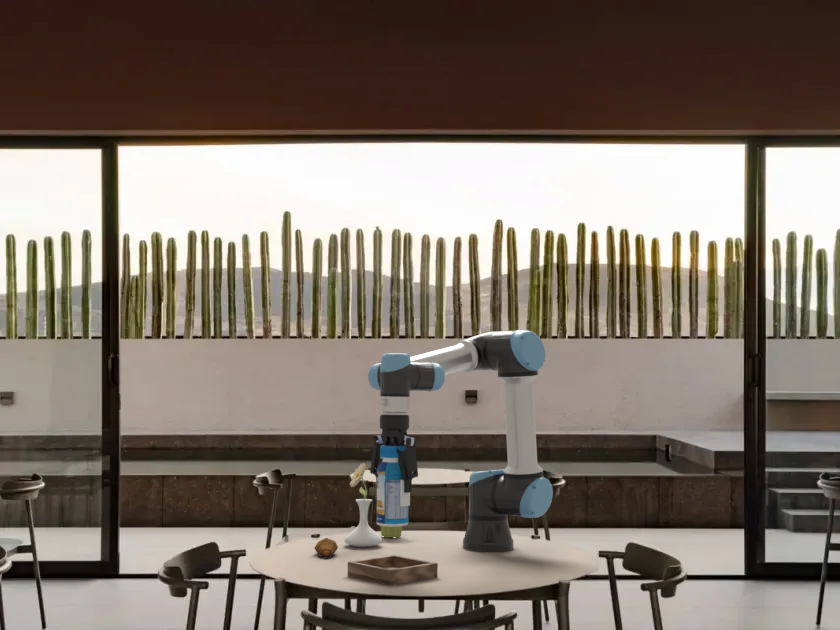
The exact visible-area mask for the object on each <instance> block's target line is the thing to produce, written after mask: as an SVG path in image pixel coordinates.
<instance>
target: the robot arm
mask: <svg viewBox="0 0 840 630" xmlns="http://www.w3.org/2000/svg"><path fill="white" fill-rule="evenodd" d="M545 361H546V349H545V345H544V343H543V341H542V339H541V337H539V336H538V334H537V333H535V332H533V331H531V330H524V329H523V330H522V329H516V330H501V331H497V330H496V331H489V332H488V331H487V332H485V333H479V334H477V335H474V336H471V337H467V338H465V339H461V340H458V341H457V342H456V343H455V344H454V345H451V346H448V347H444V348H440V349H436V350H433V351H427V352H425V353H422V354H417V355H413V356H410V354H409V353H402V352H400V353H398V352H396V353H394V352H391V353H390V352H387V353H384V354H383V355H381V358H380V363H374V364H373V365H371V367H370V368H369V370H368V374H367V377H368V383H369V386H370V387H371V388H372V389H374V390H376V391H380V394H379V395H380V398H379V400H380V401H379V404H380V405H379V407H380V408H379V412H380V413H382V414H380V416H379V428H380V429H381V434H380V435H373V437H372V441H373V444H372V445H373V447H372V455H371V463H370V470H369V473H370V474H373V475H374V476H375V478H376V479H375V483H376V482H377V479H378V474H377V470H378V467H379V465H380V463H381V462H382V461H383V459H382V458H381V457H380V448H381V445H384V446H396V452H397V453H398V455H399V457H398V462H399V466H400V469H401V473H402V478H401V480H400V506H409V507H410V506H411V493H412V490H413V489H412V485H413V484H412V482H413V481H412V480H413V479H414V478H418V477H419V470H418V460H417V451H416V443H417V438H416V437H415V436H414V437H410V436H408V433H407V432H408V430H409V429H410V416H409V414H408V413H410V393H411V391H412V392H413V391H414V392H430V393H431V392H434V391H439V390H440V389H441V388H442V387H443V386H444V383H445V381H446V379H445V377H446V375H450V374H453V373H457V372H461V371H463V372H464V373H465V372H466V373H467V372H468V373H470V372H472V371H497V378H498V379H499V381H501V382H502V384H503V396H504V415H505V434H506V436H505V437H506V452H507V453H506V454H507V466H506V467H505V468H504V469H493V470H483V471H482V470H480V471H479V470H478V471H473V472H472V473H471V474H470V476H469V481H468V482H469V484H468V523H467V525H466V529H465V534H464V537H463V539H462V548H463V549H465V550H469V551H477V552H505V551H506V552H507V551H511V550H514V539H513V537H512V534H511V533H512V532H511V529H510V525H509V522H508V518H509V517H508V516H512V517H513V516H514V517H515V516H516V517H522V518H525V519H528V518H529V519H530V518H531V519H532V518H533V519H534V518H535V519H536V518H540V517H542V516H543V515H545V514H546V513H547V511H548V509H549V508H550V507H551V503H552V500H553V495H554V494H553V493H554V490H553V489H554V488H553V485H552V483H551V481H550V480H549V479H548V478H546V477H544V468H543V467H541V466H540V465H539V463H538V451H537V450H538V449H537V432H536V430H537V429H536V411H535V396H534V395H535V393H534V382H535V380H536V379H537V377H538V376H539V374H538V373H539V372H538V370H540V369H542V368H543V366H544V362H545ZM397 446H405V450H404V451H401V450H399V449H398V448H397ZM375 488H376V490H377V485H375Z"/></svg>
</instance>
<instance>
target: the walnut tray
mask: <svg viewBox="0 0 840 630" xmlns="http://www.w3.org/2000/svg"><path fill="white" fill-rule="evenodd" d="M438 565H439V564H438V562H433V561H428V560H425V559H424V560H422V559H418V558H413V557H407V556H401V555H397V554H391V555H385V556H384V555H383V556H378V557H372V558H366V559H358V560H351V561H347V577H351V578H354V579H358V580H359V579H360V580H364V581H368V582H371V583H372V582H373V583H376V584H377V583H378V584H382V585H386V586H390V587H391V586H396V585H401V584H408V583H413V582H419V581H424V580H430V579H435V578H438V567H439V566H438Z"/></svg>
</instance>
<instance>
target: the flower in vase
mask: <svg viewBox="0 0 840 630" xmlns="http://www.w3.org/2000/svg"><path fill="white" fill-rule="evenodd" d="M365 472H366V464H365V463H364V462H363V463H360V465H359V466H358V467H356V468H355V470H354V473H353V475H352V476H351V478H350V480H351V481H350V482H349V485H350V487H351V488H354V487H355V486H356V485H358V484H359V483H360V481H361V480H362V482H363V485H364V488H363V487H362V486H360V488H359V489H358V490H359V493H360V494H361V495H363V498H359V499H358V498H356V499H355V502H356V503H357V505H358V508H359V509H358V510H359V523H358V525H357V526H356V527H355V528H354V529H353V530H352V531H351V532H349V534H347V535H346V537H345V538H344V543H345V544H346V545H348V546H351V547H356V548H357V547H359V548H370V547H374V546H378V545H380V544H382V542H383V539H382V538H383V537H382V536H380V534H378V533H377V532H376V531H375V530H374V529H373V528H371V526H370V525H369V523H368V514H369V508H370V504H371V503H372V501H373V499H371V498H370V499H369V498H366V497H367V495H368V489H367V486H366V483H365V480H364V479H363V477H364V475H365Z"/></svg>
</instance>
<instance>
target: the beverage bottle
mask: <svg viewBox="0 0 840 630" xmlns="http://www.w3.org/2000/svg"><path fill="white" fill-rule="evenodd" d="M397 448H398V449H399V450H401V451H404V450H405V446H397ZM380 457H381V458H382V459H383V461H382V462H381V463H380V465H379V467H378V470H377V474H378V479H377V482H376V481H375V484H376V485H377V489H376V519H375V520H376V521H375V522H376V525H378V526H379V527H381V526H386V527H401V526H402V527H405V526H408V524H409V522H410V521H409V513H410V511H409V510H410V509H409V507H410V506H400V480H401V478H402V473H401V469H400V466H399V462H398V457H399V455H398V453H397V452H396V446H384V445H381V448H380ZM376 485H375V486H376Z"/></svg>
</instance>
